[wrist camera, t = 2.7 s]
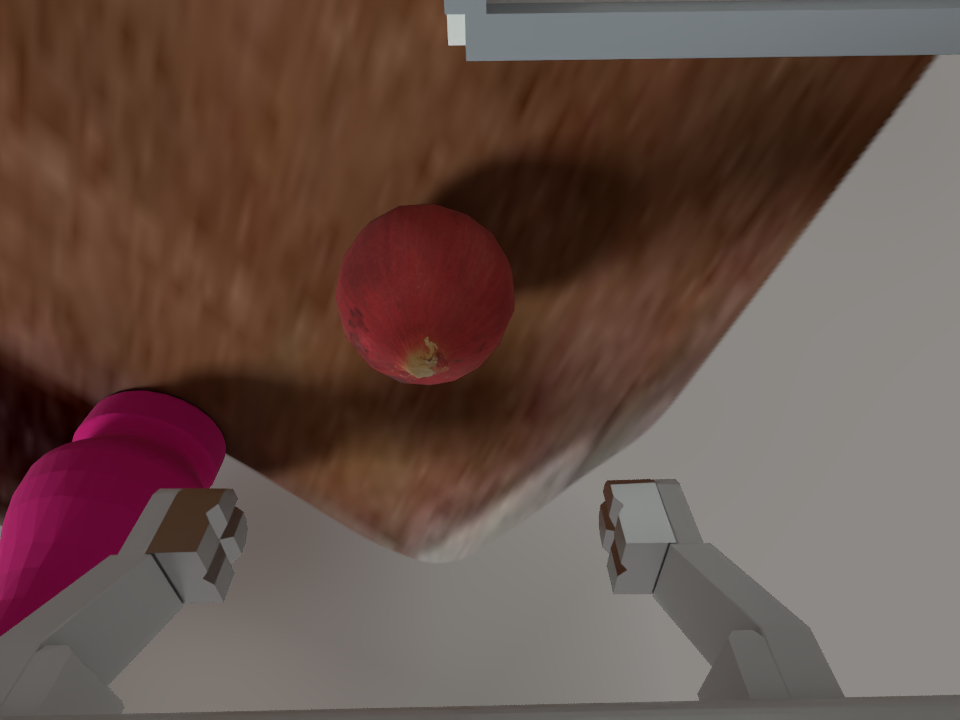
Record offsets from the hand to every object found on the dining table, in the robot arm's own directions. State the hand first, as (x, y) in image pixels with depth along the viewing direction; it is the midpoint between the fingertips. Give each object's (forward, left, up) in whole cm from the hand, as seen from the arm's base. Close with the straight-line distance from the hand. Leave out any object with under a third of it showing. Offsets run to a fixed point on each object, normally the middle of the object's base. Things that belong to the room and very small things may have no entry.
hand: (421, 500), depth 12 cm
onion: (0, 0, -12) cm, 12 cm away
